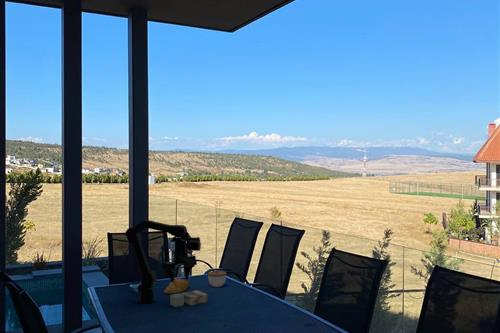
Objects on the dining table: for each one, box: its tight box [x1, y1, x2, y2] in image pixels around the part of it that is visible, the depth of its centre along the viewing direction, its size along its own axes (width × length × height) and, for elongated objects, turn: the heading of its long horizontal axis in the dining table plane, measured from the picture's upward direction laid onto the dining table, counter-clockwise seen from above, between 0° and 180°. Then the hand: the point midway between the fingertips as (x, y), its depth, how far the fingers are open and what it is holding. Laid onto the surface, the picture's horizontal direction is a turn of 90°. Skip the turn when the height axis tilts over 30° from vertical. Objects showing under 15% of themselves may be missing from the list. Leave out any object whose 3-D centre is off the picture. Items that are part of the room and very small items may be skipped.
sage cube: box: [169, 293, 185, 308], centre depth 234 cm, size 5×5×5 cm
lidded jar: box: [207, 269, 227, 288], centre depth 274 cm, size 11×11×9 cm
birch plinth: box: [180, 290, 208, 306], centre depth 241 cm, size 10×10×4 cm
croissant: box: [164, 278, 191, 295], centre depth 262 cm, size 21×10×8 cm, turn 150°
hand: (179, 280), depth 238 cm, fingers open, 9 cm apart
